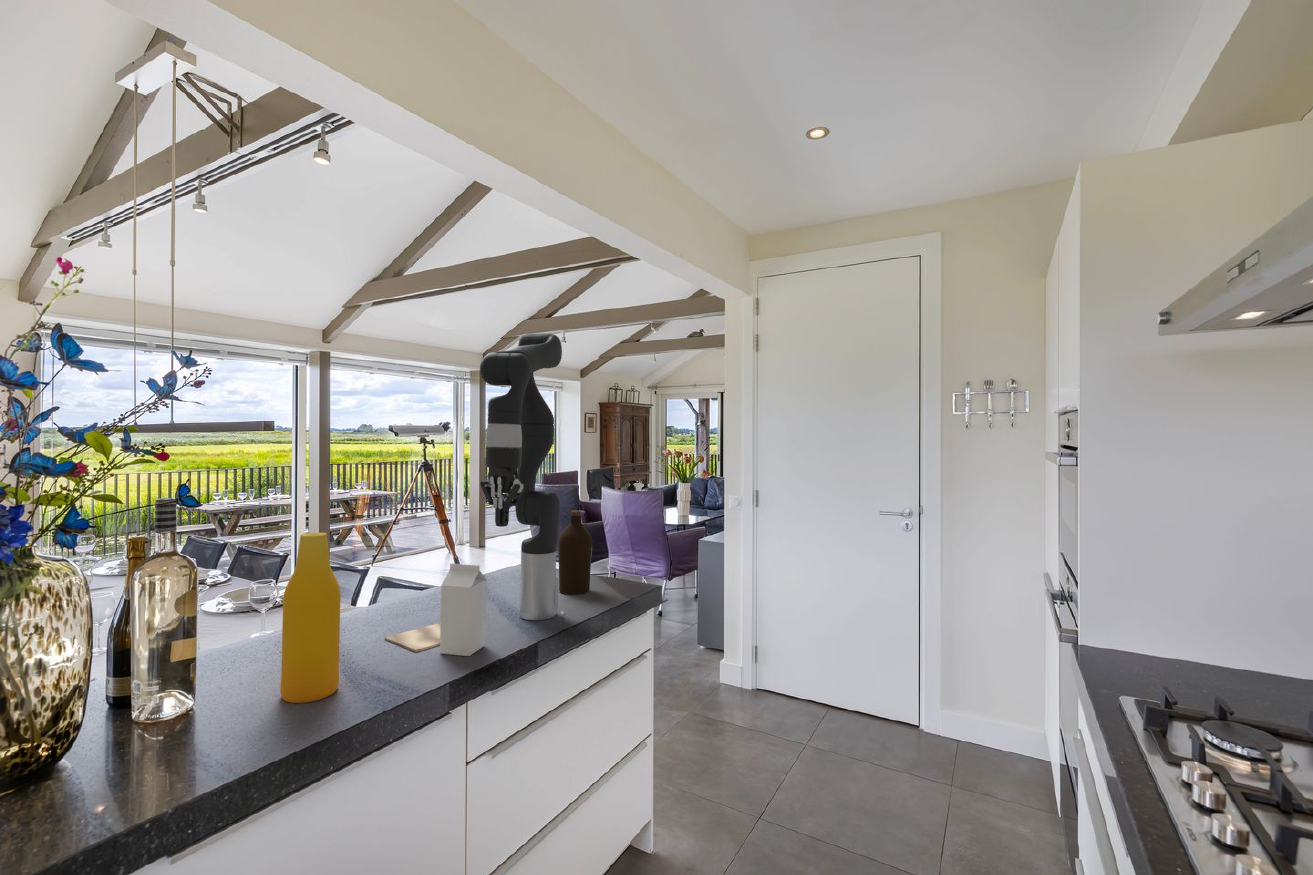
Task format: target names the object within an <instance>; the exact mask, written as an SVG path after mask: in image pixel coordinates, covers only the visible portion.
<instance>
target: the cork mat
mask: <svg viewBox="0 0 1313 875" xmlns="http://www.w3.org/2000/svg"><path fill="white" fill-rule="evenodd" d="M440 624H441V622H438V623H434V624H429V625H427V626H424V627H423V626H422V627H419V628H415V629H412V630H411V629H410V630H407V631H403V632H399V633H396V634H392V635H388V636H385V637H384V638H383V639H384V640H385V641H387V642H390V643H392V644H395V645H397V646H399V647H401V648H404V649H406V650H408V651H411V652H413V653H417V652H421V651H425V650H428V649H432V648H435V647H438V646H439V647H440Z"/></svg>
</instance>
